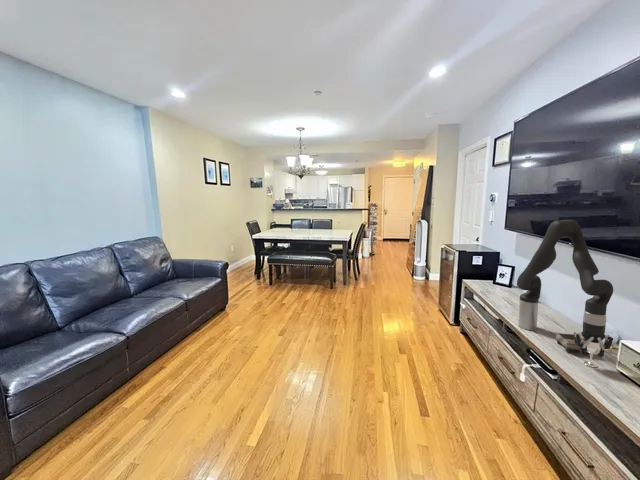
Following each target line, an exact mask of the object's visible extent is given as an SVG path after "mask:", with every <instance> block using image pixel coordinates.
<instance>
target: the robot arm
mask: <svg viewBox="0 0 640 480" xmlns="http://www.w3.org/2000/svg"><path fill="white" fill-rule="evenodd" d="M567 238H568V239H569V240H570V241H571V243H572V246H573V247H572V249H573V250H572V256H571V257H572V263H573V265H574V267H575V270H576V271H577V273H578V276H579V280H580V281H579V282H580V287H581V289H582V291H583V292H584V293H585V294H587V295H589V296H592V297H591V298H587V299H586V300H585V302H584V313H583V317H582V318H583V320H582V331H581V332H576V331H575V332H574V333H573V334H574V340H575V344H576V345H577V346H579V347H580V350H579V353H580V354H581V355H582V356H586V354H585V353H586V346H587V345H589V343H590V342H593V343H600V346H601V351H600V353H598V354H596V355H597V356H598V357H599V358H603V357H604V356H605V350H611V347H612V344H613V342H614V341H613V340H614V337H612V336H610V334H607V335H605V334H606V326H607V307H608V305H609V302H610V300H611V298H612V296H613V293H614V287H613V284H612V282H610V281H609V280H607V279H595V278H594V276H596V275H598V274H599V272H600V271H599V268H598V266H597V264H596V263H595V261H594V260H593V258H592V256H591V254H590V251H589V249H588V247H587V243H586V240H585V236H584V234H583V231H582V228H581V226H580V224H579V223H578V221H576V220H574V219H561V220H559V219H558V220H555V221H552V222H551V223H550V225H548V228H547V230H546V232H545V234H544V237H543V239H542V241H541V243H540V245H539V247H538V248H537V250H536V251H535V253H534V255H532V258H531V259H530V261H529V263H528V265H527V266H526V267H525V268H524V269H523V271H522V272H521V273H520V274H519V276H518V278H517V281H516V286H517V288H518V289H520V290H521V291H526V292H524V293H521V294H520V296H519V306H518V307H519V308H518V309H519V310H518V324H517V325H518V327H519V328H521V329H523V330H526V329H527V330H528V331H536V330H537V328H538V317H539V316H538V315H539V314H538V313H539V301H540V297H541V292H542V291H541V290H542V280H541V278H540V276H538V275H539V274H541V273H542V272H544V271H546V270H547V269H549V268H550V267H551V266H552V265H553V263H554V261H556V259H557V251H556V245H557V243H558V241H559V240H561V239H567ZM581 337H582V338H583V339H582V340H581V342H580V338H581ZM585 340H586V341H585ZM603 340H604V342H603Z"/></svg>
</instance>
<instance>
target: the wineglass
mask: <svg viewBox="0 0 640 480" xmlns="http://www.w3.org/2000/svg"><path fill="white" fill-rule="evenodd" d="M585 341H586V340H585ZM586 351H587V352H588V353H590V354H589V359H590V360H589V361H584V362H583V364H585V365H586V366H588V367H592V368H597V367H598V365H597V364H596V363H593V362H592V359H593V357H594V355H597V354H598V353H600V351H601V346H600V343H593V342H590V343H589V345H587V346H586Z"/></svg>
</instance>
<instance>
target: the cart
mask: <svg viewBox="0 0 640 480" xmlns="http://www.w3.org/2000/svg"><path fill="white" fill-rule="evenodd" d="M555 339H556V343H557V345H562V346H563V347H564V348H565V349H564V350H565V353H570V352H571V350H575V351H580V347H579V346H577V345H576V344H575V340H574V333H573V334H572V333H563V332H556V333H555ZM582 339H583V336H581V338H580V342H581V340H582ZM585 355H590V353H588V352H587V351H586V353H585Z"/></svg>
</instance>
